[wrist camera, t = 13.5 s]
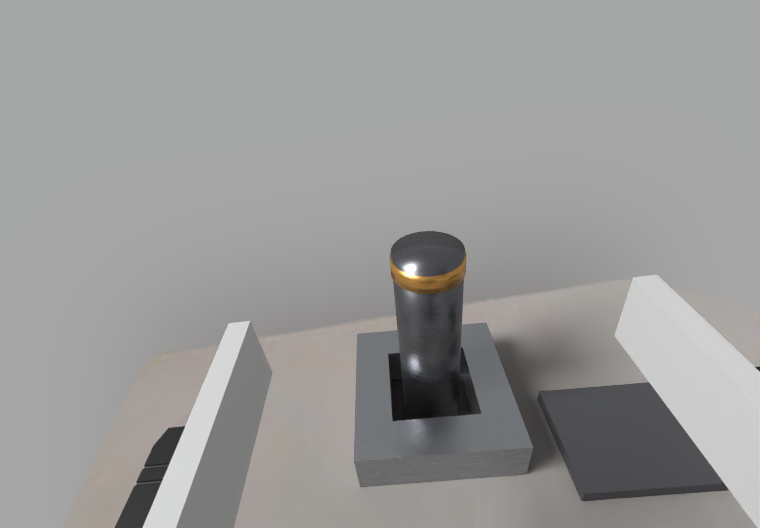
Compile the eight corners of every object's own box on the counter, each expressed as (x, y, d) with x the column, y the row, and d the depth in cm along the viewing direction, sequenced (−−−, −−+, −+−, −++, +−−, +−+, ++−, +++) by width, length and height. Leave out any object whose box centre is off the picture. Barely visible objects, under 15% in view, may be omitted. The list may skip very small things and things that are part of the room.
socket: (483, 348, 37) (486, 322, 35) (526, 474, 27) (533, 447, 25) (361, 359, 38) (357, 333, 36) (360, 486, 28) (353, 461, 26)
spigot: (453, 383, 34) (458, 227, 25) (464, 431, 30) (474, 268, 21) (401, 387, 34) (387, 234, 25) (405, 436, 31) (390, 275, 22)
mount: (657, 389, 32) (661, 381, 31) (733, 489, 25) (740, 482, 25) (537, 399, 32) (539, 391, 32) (581, 501, 26) (585, 493, 25)
